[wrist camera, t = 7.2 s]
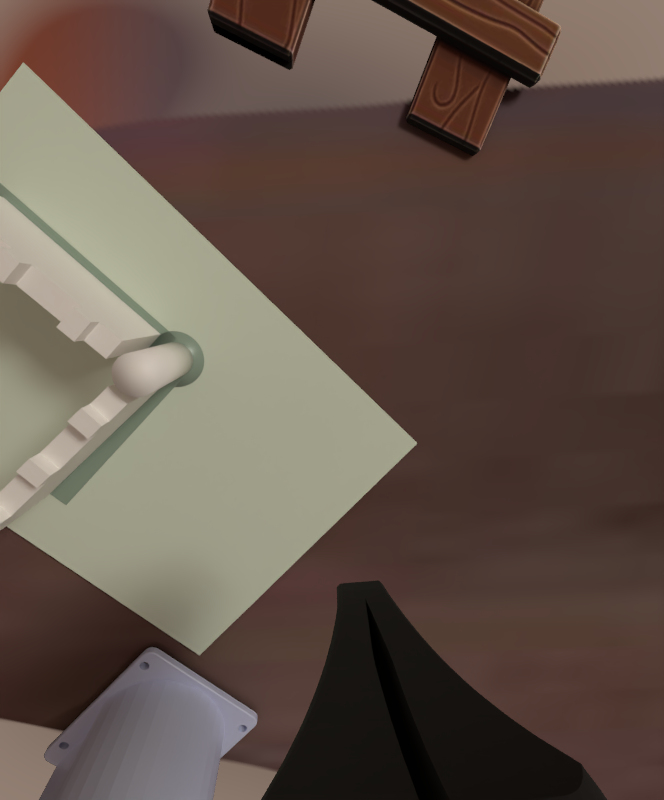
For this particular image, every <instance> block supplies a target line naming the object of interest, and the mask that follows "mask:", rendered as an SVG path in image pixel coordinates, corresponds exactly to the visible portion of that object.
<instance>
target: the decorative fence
mask: <svg viewBox="0 0 664 800" xmlns="http://www.w3.org/2000/svg"><path fill="white" fill-rule="evenodd" d="M372 1H374V2H376V3H378V4H380V5H382V6H383V7H385V8H387V9H389V10H391V11H392V12H394V13H396V14H398V15H399V16H401V17H403V18H405V19H407V20H409V21H410V22H412V23H414V24H416V25H417V26H419V27H421V28H423V29H425V30H427V31H428V32H430V33H432V34H434V35H435V36H437V37H436V39H435V42H434V45H433V47H432V50H431V52H430V55H429V58H428V60H427V63H426V65H425V68H424V71H423V73H422V76H421V78H420V81H419V84H418V86H417V89H416V91H415V94H414V97H413V99H412V100H413V102H412V104H411V107H410V110H409V112H408V115H407V117H406V119H407V122H408V123H409V124H411V125H413V126H415V127H417V128H419V129H421V130H423V131H425V132H427V133H429V134H431V135H433V136H435V137H437V138H439V139H441V140H443V141H445V142H447V143H449V144H451V145H453V146H455V147H457V148H459V149H461V150H463V151H465V152H467V153H469V154H471V155H472V156H473V155H475V154H477V153H478V152H479V151H480V150H481V147H482V145H483V142H484V140H485V138H486V135H487V133H488V131H489V128H490V126H491V124H492V121H493V119H494V116H495V114H496V112H497V109H498V107H499V105H500V102H501V100H502V98H503V95H504V93H505V90H506V88H507V86H508V83H509V81H510V78H513V79H515V80H516V81H518V82H520V83H522V84H524V85H525V86H527V87H529V88H530V87H532V86H533V85H535V84H536V83H537V82H538V81H539V80H540V79H541V77H542V75H543V73H544V70H545V68H546V66H547V64H548V61H549V59H550V57H551V54H552V52H553V50H554V47H555V45H556V43H557V40H558V38H559V36H560V34H561V27H560V25H559V24H557V23H555V22H554V21H552V20H550V19H548V18H547V17H545V16H543V15H542V14H540V13H538V12H539V10H540V8H541V5H542V3H543V1H544V0H372ZM314 2H315V0H210V4H209V8H208V14H209V17H210V20H211V24H212V27H213V30H214V32H215V33H217V34H219V35H221V36H223V37H225V38H227V39H229V40H231V41H233V42H235V43H237V44H239V45H241V46H243V47H245V48H247V49H249V50H251V51H253V52H254V53H256V54H258V55H260V56H262V57H265V58H266V59H268V60H270V61H272V62H274V63H276V64H278V65H280V66H282V67H284V68H286V69H288V70H290V69H293V66H294V63H295V60H296V57H297V54H298V51H299V48H300V45H301V42H302V39H303V36H304V32H305V30H306V27H307V23H308V20H309V17H310V14H311V11H312V8H313V5H314Z"/></svg>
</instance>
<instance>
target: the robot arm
mask: <svg viewBox="0 0 664 800" xmlns="http://www.w3.org/2000/svg"><path fill="white" fill-rule="evenodd" d="M144 662H146V663H148V664H146V663H144ZM256 724H257V714H256V713H255V712H254V711H253V710H251V709H250V708H248V707H247V706H245V705H244V704H242V703H241V702H239V701H237V700H236V699H234V698H233V697H231V696H230V695H228V694H227V693H225V692H224V691H222V690H221V689H219V688H218V687H216V686H215V685H213V684H212V683H210V682H208V681H207V680H205V679H204V678H202V677H201V676H199V675H198V674H196V673H195V672H193V671H192V670H190V669H189V668H187V667H186V666H184V665H183V664H181V663H179V662H178V661H176V660H175V659H173V658H172V657H170V656H169V655H167V654H166V653H164V652H163V651H161V650H160V649H158V648H156V647H150V648H147V649H146V650H145V651H144V652H143V653H142V654H141V655H140V656H139V657H138V658H137V659H136V660H135V661H134V662H133V663H132V664H131V665H130V666H129V667H128V668H127V669H126V670H125V671H124V672H123V673H122V674H121V675H120V676H119V677H118V678H117V679H116V680H115V681H114V682H113V683H112V684H111V685H110V686H109V687H108V688H107V689H106V690H105V691H104V692H103V693H102V694H101V695H100V696H99V697H98V698H97V699H96V700H95V701H93V702H92V703H91V704H90V705H89V706H88V707H87V708H86V709H85V710H84V711H83V712H82V713H81V714H80V715H79V716H78V717H77V718H76V719H75V720H74V721H73V722H72V723H71V724H70V725H69V726H68V727H67V728H66V729H65V730H64V731H63V732H62V733H61V734H60V735H59V736H58V737H57V739H55V740H54V741H53V742H52V743H51V744H50V745H49V747H48V748H47V750H46V752H45V754H44V758H45V759H46V761H48V762H50V763H51V764H53V765H55V766H57V767H56V769H55V771H54V772H53V775H52V776H51V778H50V780H49V782H48V784H47V786H46V788H45V790H44V791H43V793H42V795H41V797H40V799H39V800H213V797H214V791H215V785H216V779H217V774H218V768H219V762H220V758H221V757H222V756H223V755H224V754H226V753H227V752H228V751H229V750H230V749H231V748H232V747H233V746H234V745H235V744H236V743H237V742H239V741H240V740H241V739H242V738H243V737H244V736H245V735H246V734H247V733H248V732H249V731H250V730H251V729H253V728H254V727H255V725H256ZM261 800H607V799H606V797H605V796H604V795H603V793H602V792H601V790H600V789H599V787H598V786H597V785H596V783H595V782H594V781H593V779H592V778H591V777H590V775H589V774H588V773H587V772H586V770H585V769H584V767H583V766H582V764H581V763H579V762H577V761H576V760H574V759H572V758H571V757H569V756H568V755H566V754H564V753H563V752H561V751H559V750H558V749H556V748H555V747H553V746H551V745H550V744H548V743H546V742H545V741H543V740H542V739H540V738H538V737H537V736H535V735H534V734H532V733H531V732H530V731H528V730H527V729H525V728H524V727H522V726H521V725H520V724H518V723H517V722H515V721H514V720H512V719H511V718H510V717H508V716H507V715H506V714H504V713H503V712H502V711H500V710H499V709H498V708H497V707H495V706H494V705H493V704H492V703H490V702H489V701H488V700H487V699H485V698H484V697H483V696H482V695H480V694H479V693H478V692H477V691H476V690H474V689H473V688H472V687H471V686H470V685H469V684H468V683H467V682H465V681H464V680H463V679H462V678H461V677H460V676H459V675H458V674H457V673H456V672H455V671H454V670H453V669H452V668H450V667H449V666H448V665H447V664H446V663H445V662H444V660H443V659H442V658H441V657H440V656H439V655H438V654H437V653H436V652H435V651H434V650H433V649H432V648H431V647H430V646H429V644H428V643H427V642H426V641H425V640H424V639H423V638H422V636H421V635H420V634H419V633H418V632H417V631H416V629H415V628H414V627H413V626H412V624H411V623H410V622H409V621H408V619H407V618H406V617H405V616H404V614H403V613H402V612H401V610H400V609H399V608H398V606H397V605H396V604H395V602H394V601H393V599H392V598H391V597H390V595H389V594H388V592H387V591H386V589H385V588H384V586H383V584H382V583H381V582H380V581H369V582H356V583H343V584H340V585H339V586H338V587H337V614H336V621H335V626H334V631H333V636H332V640H331V644H330V648H329V652H328V655H327V659H326V662H325V666H324V669H323V672H322V675H321V678H320V681H319V684H318V686H317V689H316V692H315V694H314V697H313V699H312V702H311V704H310V707H309V709H308V712H307V714H306V716H305V719H304V721H303V723H302V725H301V727H300V730H299V732H298V734H297V736H296V738H295V740H294V742H293V744H292V746H291V748H290V750H289V752H288V754H287V756H286V758H285V759H284V761H283V763H282V765H281V767H280V768H279V770H278V772H277V774H276V775H275V777H274V779H273V780H272V782H271V784H270V785H269V787H268V789H267V791H266V792H265V794H264V796H263V797H262V799H261Z"/></svg>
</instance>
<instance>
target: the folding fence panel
mask: <svg viewBox="0 0 664 800" xmlns="http://www.w3.org/2000/svg"><path fill="white" fill-rule="evenodd" d="M156 391H157V390H156ZM156 391H155V392H156ZM155 392H153V393H151V394H149V395H147V396H145V397H139V398H136V397H130V396H127V395H125V394H124V393H122V392H121V391H120V390H119V389H118V388H117V387H116V386H115V384H113V385H111V386H108V387H107V388H106V389H105V390H104V391H103V392H102V393H101V394H100V395H99V396H98V397H97V398H96V399H95V400H94V401H93V402H92V403H90V404H89V405H87V406H85V407H82V408H81V409H80V410H78V411H77V412H76V413H75V414H74V415H73V416H72V417H71V418H70V419H69V420H68V421H67V422H68V423H70V424H69V425H68V426H67V427H66V428H65V429H64V430H63V431H62V432H61V433H60V434H59V435H58V436H57V437H56V438H55V439H54V440H53V441H52V442H51V443H50V444H49V445H48V446H46V447H45V448H44V449H43V450H42V451H41V452H40V453H39V454H37V455H35V456H33V457H32V458H30V459H28V460H27V461H26V462H25V463H24V464H23V465H22V466H21V467H20V468H19V469H18V470H17V471H16V472H17V473H18V475H17V476H16V477H15V478H14V479H13V480H12V481H11V482H10V483H9V484H8V485H7V486H6V487H5V488H3V489H2V490H1V491H0V530H2V529H3V528H4V527H6V526H7V525H9V524H10V523H11V522H13V521H14V520H15V519H17V518H18V517H19V516H21V515H22V514H23V513H25V512H26V511H28V510H29V509H30V508H32V507H33V506H34V505H36V504H37V503H38V502H40V501H41V500H42V499H44V498H45V497H47V496H48V495H49V494H50V493H51V492H52V491H53V490H54V489H55V488H56V487H57V486H58V485H59V484H60V483H62V482H63V481H64V480H65V479H66V478H67V477H68V476H69V475H70V474H71V473H72V472H73V471H74V470H75V469H76V468H77V467H78V466H79V465H80V464H81V463H82V462H83V461H84V460H86V459H87V458H88V457H89V456H90V455H91V454H92V453H93V452H94V451H95V450H96V449H97V448H98V447H99V446H100V445H101V444H102V443H103V442H104V441H105V440H106V439H107V438H108V437H109V436H111V435H112V434H113V433H114V432H115V431H116V430H117V429H118V428H119V427H120V426H121V425H122V424H123V423H124V422H125V421H126V420H127V419H128V418H129V417H130V416H131V415H132V414H133V413H134V412H136V411H137V410H138V409H139V408H140V407H141V406H142V405H143V404H144V403H145V402H146V401H147V400H148V399H149V398H150V397H151V396H152V395H153V394H154V393H155Z"/></svg>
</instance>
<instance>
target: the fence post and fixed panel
mask: <svg viewBox="0 0 664 800" xmlns="http://www.w3.org/2000/svg"><path fill="white" fill-rule="evenodd" d="M0 282H2V283H4V284H15V285H17V286H18V287H19V288H20V289H22V290H23V291H24V292H25V293H27V294H28V295H29V296H30V297H31V298H33V299H34V300H35V301H36V302H37V303H39V304H40V305H41V306H42V307H44V308H45V309H46V310H47V311H48V312H50V313H51V314H52V315H53V316H54V317H56V318H57V319H58V320H59V321H61V322H60V323H59V324H58V326H57V328H58V329H59V330H60V331H61V332H63V333H64V334H65V335H66V336H68V337H69V338H70V339H71V340H72V341H74V342H76V341H83V340H84V341H85V342H86V343H87V344H88V345H90V346H91V347H92V348H93V349H95V350H96V351H97V352H98V353H99V354H101V355H102V356H103V357H104V358H105V359H108V358H112V357H116V356H120V355H121V356H120V357H118V358H117V359H116V361H115V362H114V364H113V366H112V372H111V374H112V380H113V382H114V384H115V386H116V387H117V388H118V389H119V390H120V391H121V392H122V393H124V394H125V395H127V396H130V397H136V398H139V397H145V396H147V395H149V394H151V393H153V392H155V391H156V390H158V389H160V388H162V387H163V386H165V385H167V384H169V383H171V382H172V381H174V380H176V379H178V378H179V377H181V376H183V375H185V374H186V373H188V372H189V371H190V369H191V368H192V365H193V356H192V354H191V352H190V350H189V349H188V348H187V347H186V346H185V345H183V344H181V343H177V342H171V343H166V344H162V345H158V346H154V347H150V346H151V345H152V343H153V342H154V341H155V340H156V339H157V338H158V337H159V336H160V335H161V334H160V333H159V332H158V331H156V330H155V329H154V328H153V327H152V326H151V325H149V324H148V323H147V322H146V321H145V320H144V319H143V318H141V317H140V316H139V315H138V314H137V313H136V312H135V311H133V310H132V309H131V308H130V307H129V306H128V305H127V304H125V303H124V302H123V301H122V300H121V299H120V298H119V297H117V296H116V295H115V294H114V293H113V292H112V291H110V290H109V289H108V288H107V287H106V286H105V285H104V284H102V283H101V282H100V281H99V280H98V279H97V278H96V277H94V276H93V275H92V274H91V273H90V272H89V271H88V270H86V269H85V268H84V267H83V266H82V265H81V264H80V263H78V262H77V261H76V260H75V259H74V258H73V257H71V256H70V255H69V254H68V253H67V252H66V251H65V250H63V249H62V248H61V247H60V246H59V245H58V244H57V243H55V242H54V241H53V240H52V239H51V238H50V237H49V236H47V235H46V234H45V233H44V232H43V231H42V230H40V229H39V228H38V227H37V226H36V225H35V224H34V223H32V222H31V221H30V220H29V219H28V218H27V217H26V216H24V215H23V214H22V213H21V212H20V211H19V210H18V209H16V208H15V207H14V206H13V205H12V204H11V203H10V202H8V201H7V200H6V199H5V198H4V197H1V196H0ZM149 347H150V348H149Z"/></svg>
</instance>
